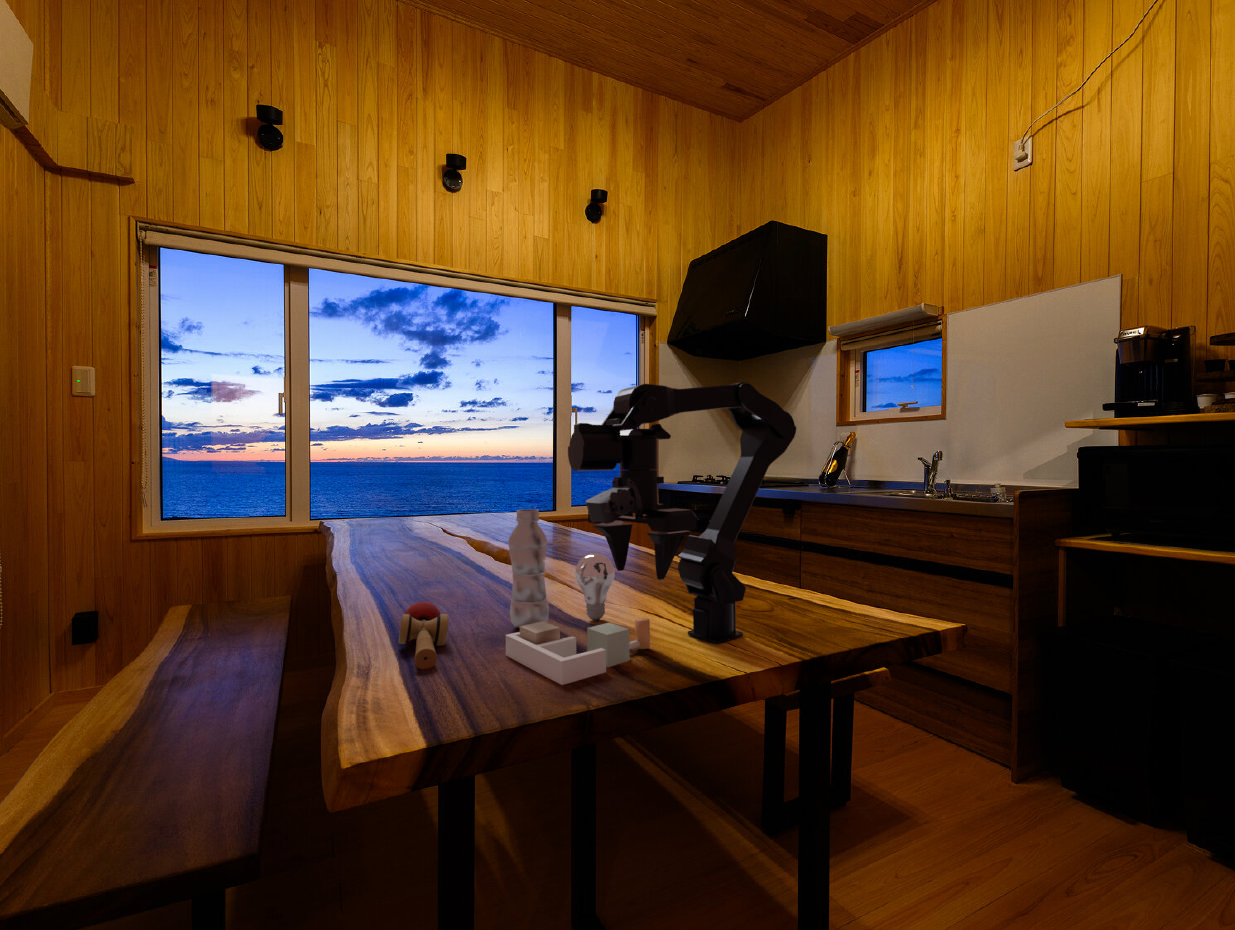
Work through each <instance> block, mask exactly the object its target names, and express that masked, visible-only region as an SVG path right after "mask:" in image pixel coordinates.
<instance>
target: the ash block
mask: <svg viewBox="0 0 1235 930" xmlns="http://www.w3.org/2000/svg"><path fill="white" fill-rule="evenodd" d="M519 632H520V638H522V639H524V640H527V641H529V642H531V643H533V644H535V645H537V644H542V643H546V642H550V641H554V640H559V639H561V627H560V626H557V625H554V624H551V623H549V622H548V621H547V622H544V621H542V622H537V623H533V624H528V625H523V626H520V628H519Z"/></svg>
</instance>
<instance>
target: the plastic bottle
mask: <svg viewBox="0 0 1235 930" xmlns="http://www.w3.org/2000/svg"><path fill="white" fill-rule="evenodd" d="M539 514H540V511H539V509H538V508H537V509H536V508H535V509H534V508H529V509H527V508H525V509H523V508H522V509H517V510H516V518H515V521H516V522H517V525H516V527H515V528H514V529H513V530H512V532H511V534H510V536H509V538H508V542H507V544H508V550H509V556H510V561H511V562H510V563H511V572H512V588H511V589H512V590H511V601H510V607H509V608H510V609H509V616H510V617H509V618H510V621H511V623H512V625H513V626H514V627H516V628H519V629H520V626H523V625H528V624H533V623H537V622H542V621H544V622H547V623H548V621H549V616H550V606H549V601H548V598H547V591H546V590H547V588H546V582H545V581H546V580H545V578H546V576H545V575H546V573H545V572H546V557H547V546H548V539H547V536H546V533H545V532H544V531H543V529H542V528H541V526H540V525H539V521H540V517H539V516H540V515H539Z"/></svg>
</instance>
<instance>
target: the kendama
mask: <svg viewBox="0 0 1235 930" xmlns="http://www.w3.org/2000/svg"><path fill="white" fill-rule="evenodd" d="M400 620H401V621H400V627H399V635H398V644H401V645H406V644H407V643H409V642H410V641H412V640H415V641H416V642H415V643H416V644H415V654H414V655H415V656H414V663H415V666H416V667H417V668H418V669H421V670H427V669H428V670H429V669H432V668H433V667H434V666H435V665H436V664H437V662H438V661H437V660H438V654H437V652H436V649H435V646H437V647H440V646H442V647H444V646H445V645H446V643H447V637H448V629H449V615H448V614H446V613H441V612H440V609H439V608H438V607H437V606H436V605H434V604H433V603H431V602H429V601H419V602H416V603H413V604H411V605H410V606H409V607H408V608H407V609H406V610H405V612H404V613H403V614H402V616H401V619H400Z"/></svg>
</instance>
